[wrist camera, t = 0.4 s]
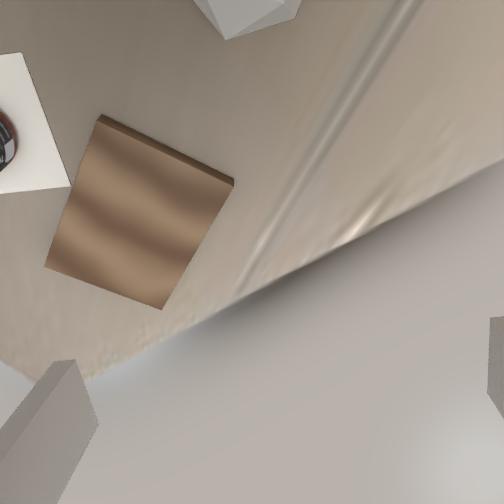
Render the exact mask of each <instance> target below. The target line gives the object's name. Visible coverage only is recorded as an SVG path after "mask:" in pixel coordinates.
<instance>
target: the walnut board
mask: <svg viewBox="0 0 504 504" xmlns="http://www.w3.org/2000/svg"><path fill="white" fill-rule="evenodd" d="M233 187H234V179H233V178H230V177H228V176H226V175H224V174H222V173H220V172H218V171H216V170H214V169H212V168H210V167H208V166H206V165H204V164H202V163H200V162H198V161H196V160H194V159H192V158H190V157H188V156H186V155H184V154H181V153H179V152H177V151H175V150H173V149H171V148H169V147H167V146H165V145H163V144H161V143H159V142H157V141H155V140H153V139H151V138H149V137H147V136H145V135H143V134H141V133H139V132H137V131H135V130H132V129H130V128H128V127H126V126H124V125H122V124H120V123H118V122H116V121H114V120H112V119H110V118H108V117H106V116H104V115H101V116H100V117H99V119H98V120H97V122H96V125H95V127H94V130H93V133H92V136H91V138H90V141H89V144H88V147H87V149H86V152H85V155H84V158H83V160H82V163H81V166H80V169H79V171H78V174H77V177H76V180H75V182H74V185H73V188H72V191H71V193H70V196H69V199H68V202H67V204H66V207H65V210H64V213H63V215H62V218H61V221H60V224H59V227H58V229H57V232H56V235H55V238H54V240H53V243H52V246H51V249H50V251H49V254H48V257H47V260H46V262H45V265H44V267H46V268H49V269H52V270H54V271H57V272H60V273H63V274H65V275H68V276H71V277H73V278H76V279H79V280H81V281H84V282H87V283H90V284H92V285H95V286H98V287H100V288H103V289H106V290H108V291H111V292H114V293H117V294H119V295H122V296H125V297H127V298H130V299H133V300H135V301H138V302H141V303H144V304H146V305H149V306H152V307H154V308H157V309H160V310H162V309H163V307H164V305H165V303H166V302H167V300H168V298H169V297H170V295H171V293H172V291H173V290H174V288H175V286H176V285H177V283H178V281H179V279H180V278H181V276H182V274H183V273H184V271H185V269H186V267H187V266H188V264H189V262H190V261H191V259H192V257H193V255H194V254H195V252H196V250H197V249H198V247H199V245H200V244H201V242H202V240H203V238H204V237H205V235H206V233H207V232H208V230H209V228H210V226H211V225H212V223H213V221H214V220H215V218H216V216H217V214H218V213H219V211H220V209H221V208H222V206H223V204H224V202H225V201H226V199H227V197H228V196H229V194H230V192H231V190H232V189H233Z"/></svg>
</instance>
